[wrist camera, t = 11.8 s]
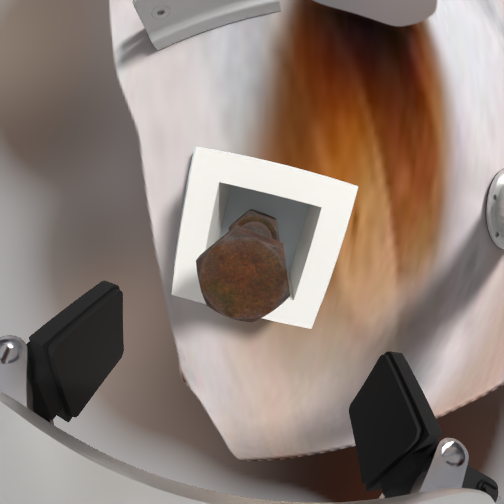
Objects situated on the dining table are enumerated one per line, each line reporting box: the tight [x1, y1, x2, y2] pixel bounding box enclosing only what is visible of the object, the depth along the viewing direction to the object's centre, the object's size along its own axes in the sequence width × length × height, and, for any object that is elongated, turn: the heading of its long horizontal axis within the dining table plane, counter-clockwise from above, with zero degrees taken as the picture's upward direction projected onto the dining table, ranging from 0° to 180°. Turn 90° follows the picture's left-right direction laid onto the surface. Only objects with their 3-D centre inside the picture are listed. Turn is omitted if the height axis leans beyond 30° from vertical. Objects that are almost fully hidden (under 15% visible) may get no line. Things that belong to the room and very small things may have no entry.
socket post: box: [171, 146, 358, 329], centre depth 27 cm, size 18×14×8 cm
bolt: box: [196, 209, 290, 322], centre depth 22 cm, size 6×5×15 cm
